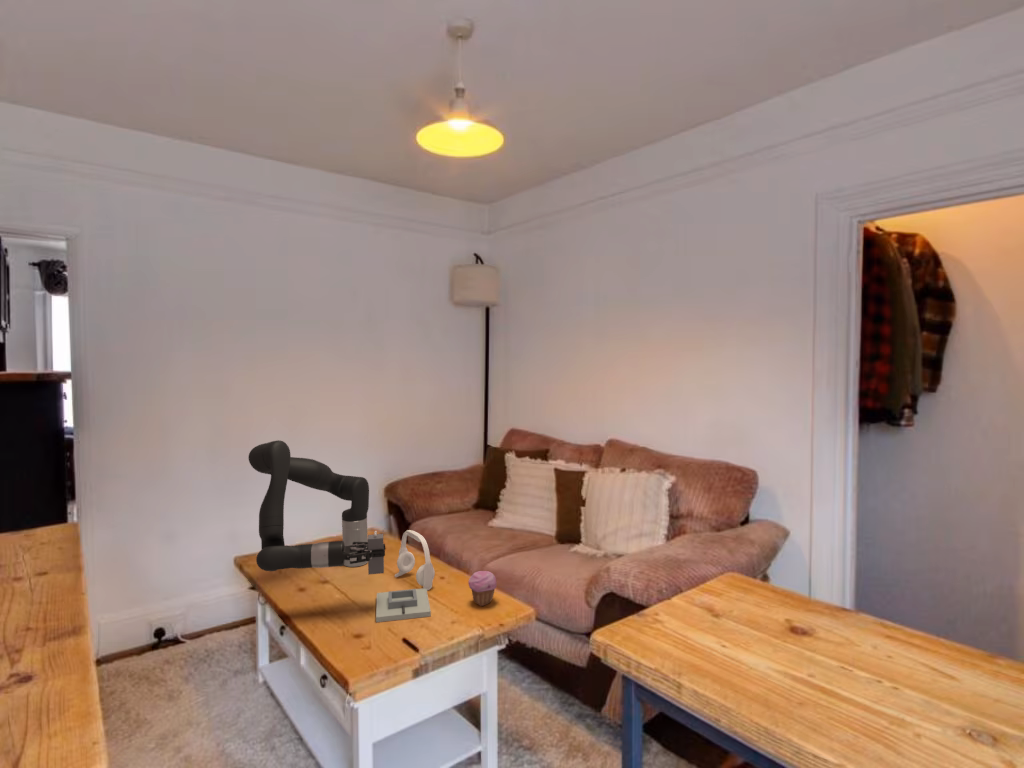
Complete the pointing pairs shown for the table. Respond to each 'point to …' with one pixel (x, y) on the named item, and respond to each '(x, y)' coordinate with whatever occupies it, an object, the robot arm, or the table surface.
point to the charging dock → (402, 605)
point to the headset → (408, 561)
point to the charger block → (376, 562)
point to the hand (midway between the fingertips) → (384, 549)
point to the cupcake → (482, 587)
